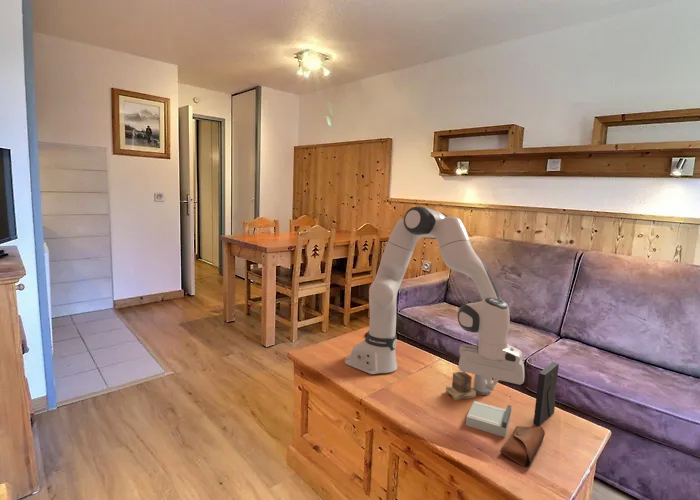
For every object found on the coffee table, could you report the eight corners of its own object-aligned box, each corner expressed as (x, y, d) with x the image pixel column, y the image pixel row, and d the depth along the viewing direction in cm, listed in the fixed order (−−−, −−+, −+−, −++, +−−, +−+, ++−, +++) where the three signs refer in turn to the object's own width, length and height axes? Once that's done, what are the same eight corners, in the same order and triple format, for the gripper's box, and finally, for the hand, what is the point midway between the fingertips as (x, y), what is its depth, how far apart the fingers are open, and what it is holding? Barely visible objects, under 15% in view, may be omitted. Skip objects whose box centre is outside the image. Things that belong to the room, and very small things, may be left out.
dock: (465, 425, 127) (466, 411, 127) (473, 408, 138) (474, 395, 137) (505, 437, 122) (506, 422, 121) (510, 419, 132) (511, 405, 131)
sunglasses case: (515, 424, 126) (530, 413, 123) (533, 443, 124) (548, 432, 120) (498, 451, 112) (514, 440, 109) (517, 474, 109) (534, 463, 106)
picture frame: (547, 409, 139) (553, 361, 137) (554, 412, 137) (560, 364, 135) (533, 423, 130) (538, 372, 127) (540, 426, 128) (546, 375, 126)
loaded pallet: (454, 400, 143) (456, 379, 142) (445, 392, 149) (447, 372, 148) (475, 397, 146) (477, 377, 145) (466, 389, 152) (467, 370, 151)
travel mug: (492, 396, 147) (497, 345, 144) (474, 394, 148) (478, 343, 146) (490, 388, 153) (494, 339, 150) (472, 386, 154) (476, 337, 152)
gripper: (457, 345, 129) (454, 385, 131) (525, 359, 119) (521, 402, 121) (462, 339, 135) (459, 377, 136) (527, 352, 125) (523, 393, 127)
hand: (489, 389), depth 129 cm, fingers closed
